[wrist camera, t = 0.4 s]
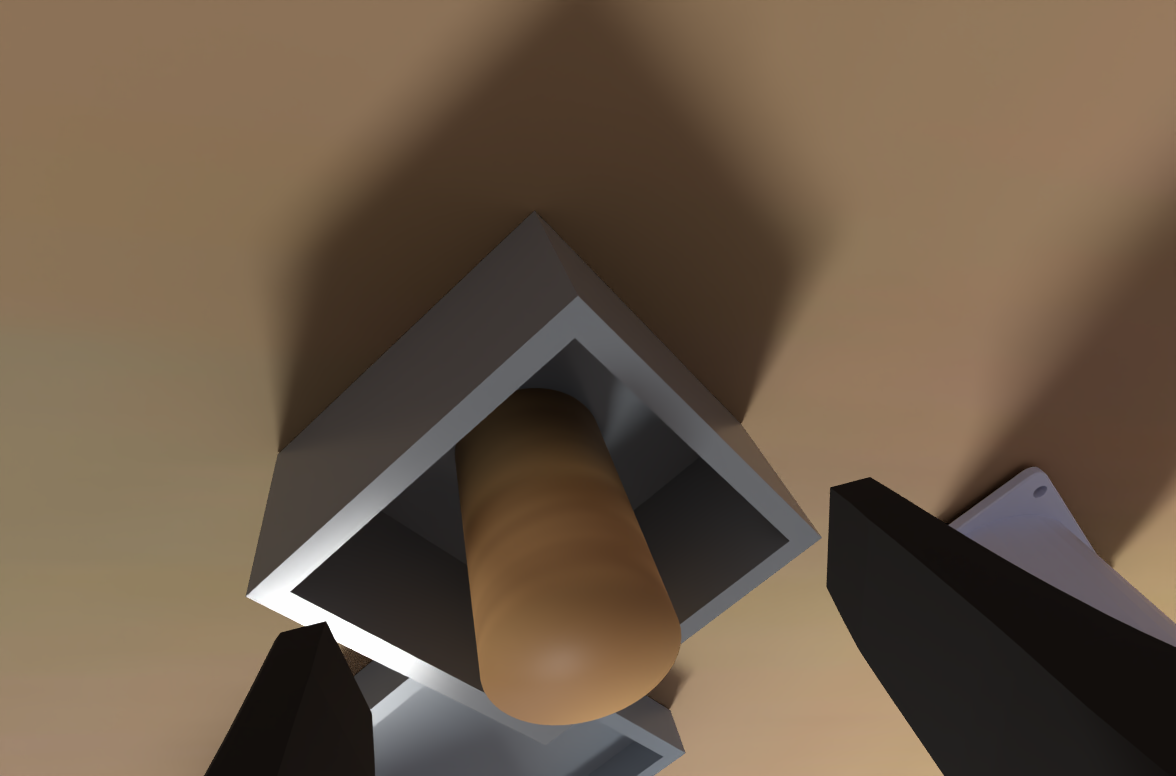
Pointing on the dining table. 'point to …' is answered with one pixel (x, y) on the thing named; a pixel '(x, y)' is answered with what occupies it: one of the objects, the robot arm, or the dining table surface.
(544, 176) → the dining table surface
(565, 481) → the dowel
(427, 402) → the grey square box
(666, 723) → the tray
